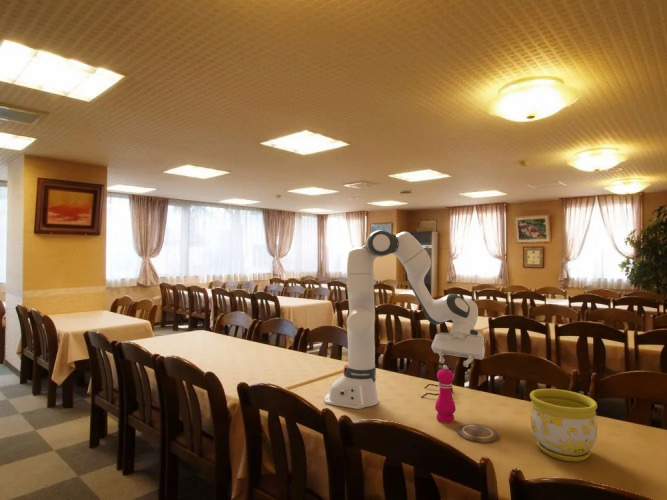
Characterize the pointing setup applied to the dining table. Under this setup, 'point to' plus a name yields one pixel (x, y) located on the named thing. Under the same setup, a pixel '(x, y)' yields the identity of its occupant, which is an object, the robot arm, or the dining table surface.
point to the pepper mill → (445, 396)
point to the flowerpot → (563, 423)
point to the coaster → (477, 433)
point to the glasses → (435, 394)
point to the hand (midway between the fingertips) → (453, 364)
